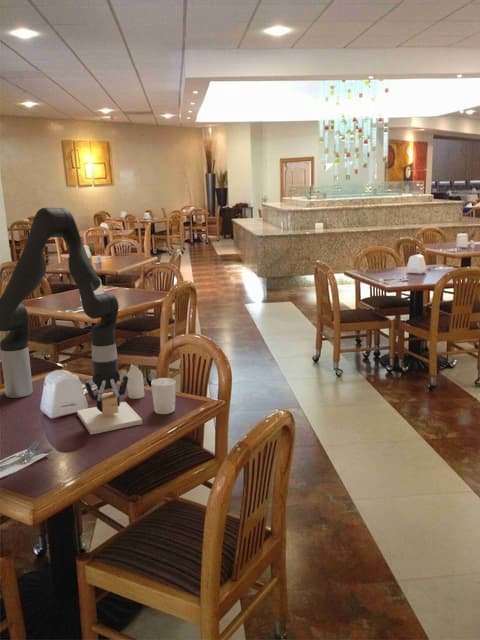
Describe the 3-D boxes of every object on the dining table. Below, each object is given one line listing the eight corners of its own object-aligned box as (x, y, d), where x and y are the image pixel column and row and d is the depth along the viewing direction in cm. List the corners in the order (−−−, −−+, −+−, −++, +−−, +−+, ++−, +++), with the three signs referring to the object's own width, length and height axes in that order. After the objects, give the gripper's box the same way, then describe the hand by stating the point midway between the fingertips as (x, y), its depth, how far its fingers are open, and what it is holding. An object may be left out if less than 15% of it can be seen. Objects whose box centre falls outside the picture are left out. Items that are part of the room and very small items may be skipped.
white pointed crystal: (145, 362, 200) (136, 367, 195) (147, 395, 203) (137, 400, 198) (132, 360, 203) (122, 364, 198) (134, 392, 205) (124, 397, 201)
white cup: (165, 404, 193) (163, 376, 191) (181, 409, 188) (180, 380, 186) (147, 411, 187) (146, 382, 185) (164, 417, 182) (162, 387, 180)
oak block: (99, 409, 182) (98, 394, 181) (113, 406, 184) (112, 391, 183) (104, 415, 177) (102, 400, 176) (118, 412, 179) (117, 397, 178)
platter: (77, 414, 186) (77, 410, 185) (125, 405, 193) (125, 401, 192) (90, 434, 170) (90, 429, 170) (142, 423, 177) (142, 419, 177)
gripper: (123, 351, 183) (126, 401, 187) (78, 358, 177) (83, 409, 181) (130, 357, 177) (133, 408, 181) (84, 364, 170) (88, 417, 174)
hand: (108, 409), depth 181 cm, fingers closed on oak block, 4 cm apart
